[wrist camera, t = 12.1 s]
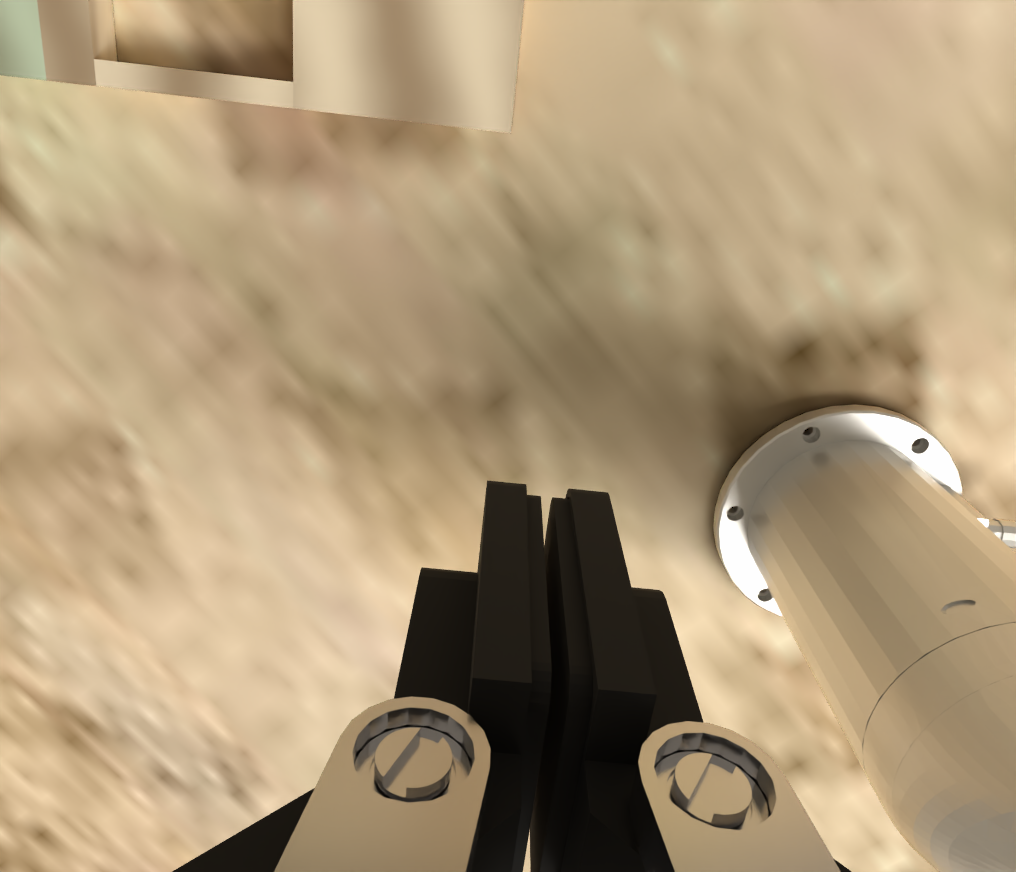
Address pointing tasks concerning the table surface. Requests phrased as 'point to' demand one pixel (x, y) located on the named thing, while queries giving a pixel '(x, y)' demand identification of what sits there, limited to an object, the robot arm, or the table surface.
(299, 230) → the table surface
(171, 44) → the table surface
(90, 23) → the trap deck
